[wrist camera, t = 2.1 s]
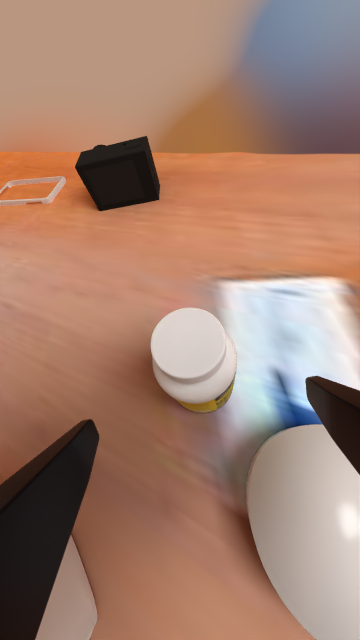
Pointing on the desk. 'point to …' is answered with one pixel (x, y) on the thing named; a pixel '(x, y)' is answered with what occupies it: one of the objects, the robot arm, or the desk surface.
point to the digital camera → (119, 174)
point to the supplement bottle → (194, 359)
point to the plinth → (309, 528)
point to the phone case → (34, 181)
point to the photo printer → (69, 602)
